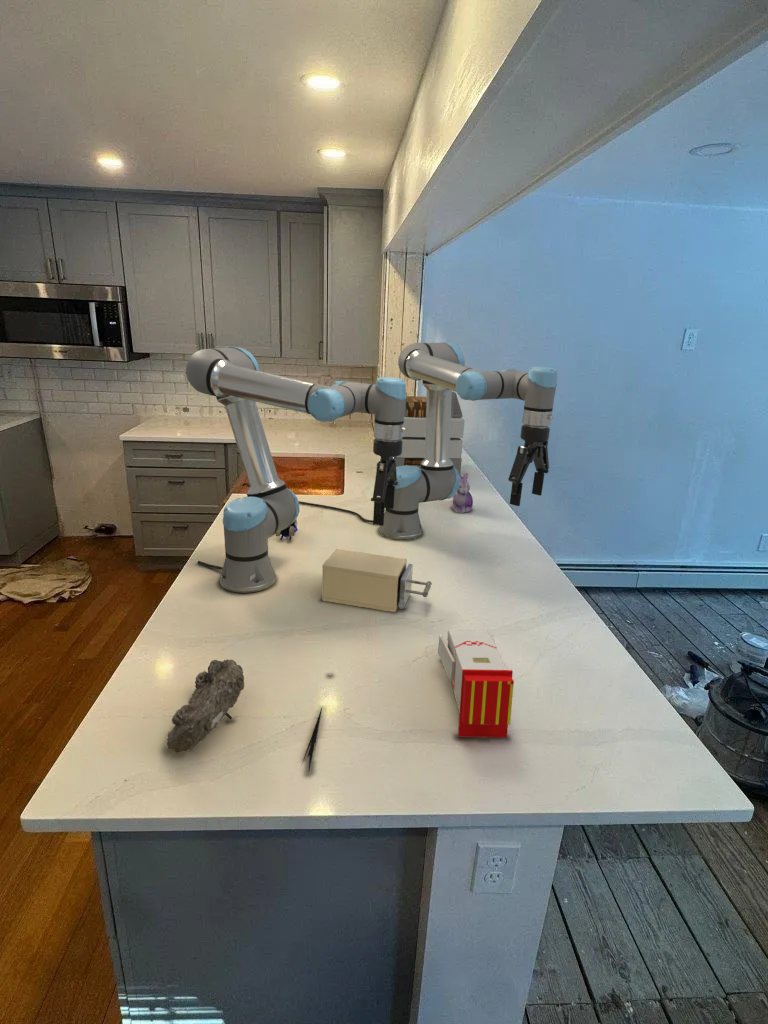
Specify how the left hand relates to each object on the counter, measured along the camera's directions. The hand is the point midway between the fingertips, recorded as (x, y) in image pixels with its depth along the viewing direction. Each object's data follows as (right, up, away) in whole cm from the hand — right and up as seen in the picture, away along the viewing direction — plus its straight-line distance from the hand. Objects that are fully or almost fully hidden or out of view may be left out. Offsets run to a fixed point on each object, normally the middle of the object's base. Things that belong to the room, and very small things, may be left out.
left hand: (383, 516), depth 154 cm
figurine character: (-33, -7, +41) cm, 53 cm away
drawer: (0, -22, 0) cm, 22 cm away
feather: (-12, -39, -45) cm, 61 cm away
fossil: (-33, -38, -45) cm, 68 cm away
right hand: (+41, +5, +8) cm, 42 cm away
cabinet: (-5, -22, +2) cm, 23 cm away
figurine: (+31, +2, +74) cm, 80 cm away
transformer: (+17, +20, +121) cm, 124 cm away
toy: (+18, -37, -35) cm, 54 cm away
